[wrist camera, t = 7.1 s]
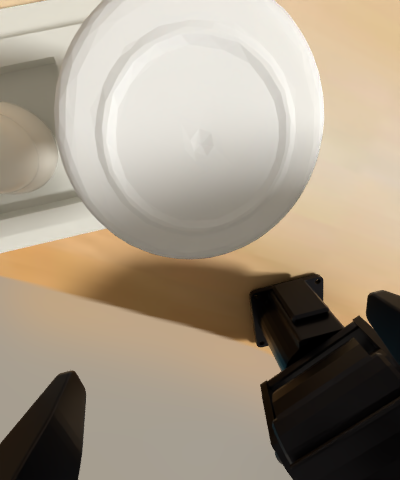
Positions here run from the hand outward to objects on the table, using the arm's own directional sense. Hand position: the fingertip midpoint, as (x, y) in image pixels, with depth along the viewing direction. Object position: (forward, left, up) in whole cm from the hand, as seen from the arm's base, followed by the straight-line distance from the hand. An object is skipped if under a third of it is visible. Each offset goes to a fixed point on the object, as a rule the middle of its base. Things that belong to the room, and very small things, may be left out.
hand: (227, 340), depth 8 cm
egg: (+6, +8, -12) cm, 16 cm away
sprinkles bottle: (+6, 0, -12) cm, 14 cm away
